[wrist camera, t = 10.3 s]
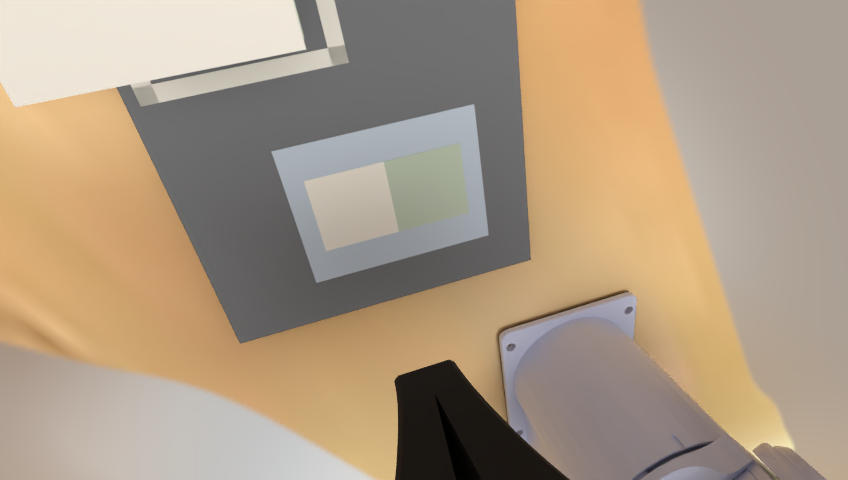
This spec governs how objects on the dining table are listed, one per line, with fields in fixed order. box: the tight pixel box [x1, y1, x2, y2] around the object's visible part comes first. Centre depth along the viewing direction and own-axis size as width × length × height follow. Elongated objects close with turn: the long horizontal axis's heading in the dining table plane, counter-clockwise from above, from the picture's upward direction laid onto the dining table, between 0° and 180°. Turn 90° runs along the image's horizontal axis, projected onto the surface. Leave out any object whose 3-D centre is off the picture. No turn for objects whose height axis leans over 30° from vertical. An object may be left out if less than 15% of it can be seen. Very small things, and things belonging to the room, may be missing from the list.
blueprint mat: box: [117, 0, 531, 343], centre depth 17 cm, size 20×14×1 cm
